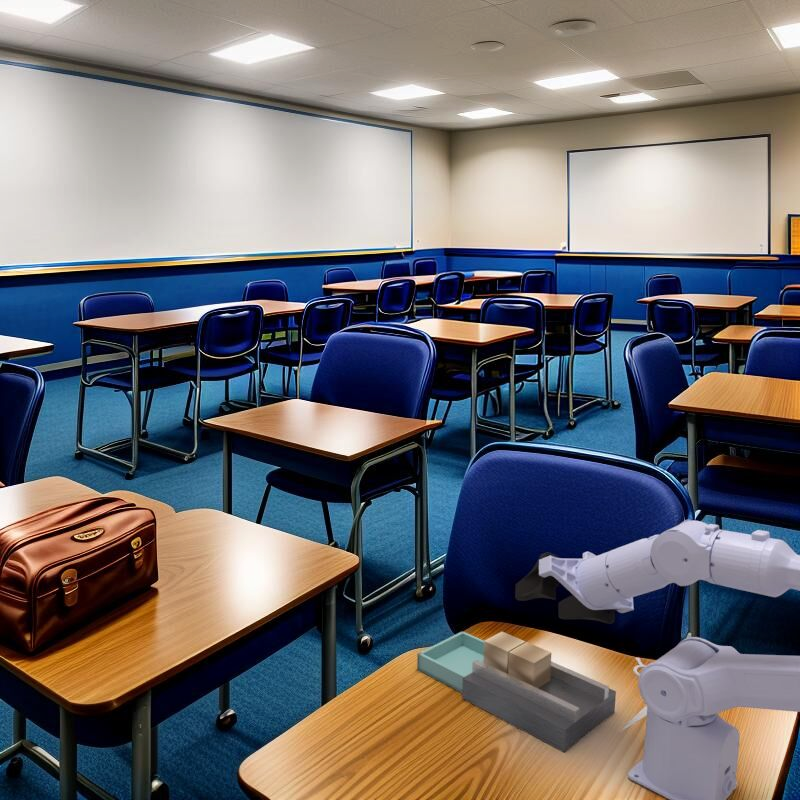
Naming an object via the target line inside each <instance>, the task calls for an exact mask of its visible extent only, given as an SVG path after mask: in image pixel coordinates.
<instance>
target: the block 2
mask: <svg viewBox="0 0 800 800" xmlns="http://www.w3.org/2000/svg"><path fill="white" fill-rule="evenodd" d="M551 661H552V651H548V650H546V649H544V648H543V647H542V648H541V647H539V646H537V645H535V644H532V643H530V642H528V641H525V643H524V644H522V645H520V646H519V647H517V648H515V649H513V650H512V651H510V652H509V664H508V674H509V675H511V676H513V677H515V678H517V679H519V680H521V681H523V682H526V683H528V684H530V685H532V686H534V687H536V688H539V687H541V686H542V685H544V684H545V683H547V682H548V681H550V671H551Z"/></svg>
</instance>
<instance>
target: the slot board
mask: <svg viewBox="0 0 800 800" xmlns="http://www.w3.org/2000/svg"><path fill="white" fill-rule="evenodd" d="M616 697H617V691H616V690H613V689H611V688H610V686H609V685H606V684H604V683H602V682H600V681H597V680H595V679H594V678H590V677H589V676H585V675H583V674H582V673H579V672H576V671H574V670H572V669H570V668H568V667H565V666H563V665H561V664H558V663H556V662H553V661H552V660H551V671H550V681H548V682H547V683H545V684H544V685H542V686H541V687H539V688H536V687H534V686H532V685H530V684H528V683H526V682H523V681H521V680H519V679H517V678H515V677H513V676H511V675H509V674H506V673H504V672H502V671H500V670H498V669H496V668H494V667H492V666H490V665H487V664H485V663H483V662H481V661H479V660H476V661H474V662H473V664H472V673H470V674H469V675H467V676H465V677H463V685H462V693H461V698H462V700H464V701H466V702H468V703H470V704H471V705H473V706H476V707H478V708H480V709H481V710H482V711H485V712H486V713H489V714H491V715H492V716H494V717H496V718H498V719H500V720H502V721H504V722H506V723H507V724H510V725H512V726H513V727H515V728H517V729H519V730H521V731H523V732H525V733H527V734H529V735H531V736H533V737H534V738H537V739H538V740H540V741H542V742H544V743H545V744H547V745H550V746H551V747H553V748H554V749H557V750H559V751H561V752H563V753H566V752H567V751H568V750H569V749H570V748H571V749H572V747H573V746H574V745H576V744H577V743H578V742H579V741H581V740H582V739H584V738H585V737H586V736H587V735H588V734H590V733H591V732H592V731H593V730H595V729H596V728H597V727H599V725H600V724H602V723H603V722H605V721H606V720H607V719H608V718H610V716H612V715H613V714H615V712H616Z"/></svg>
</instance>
